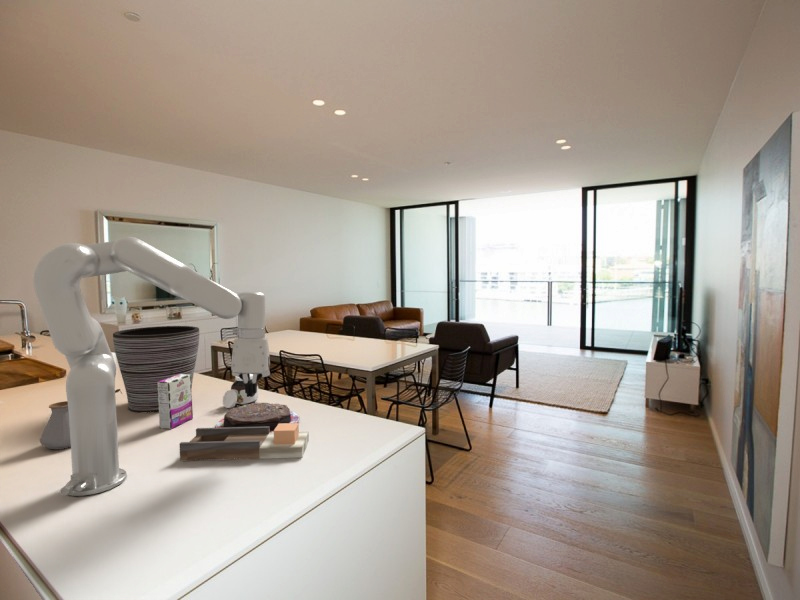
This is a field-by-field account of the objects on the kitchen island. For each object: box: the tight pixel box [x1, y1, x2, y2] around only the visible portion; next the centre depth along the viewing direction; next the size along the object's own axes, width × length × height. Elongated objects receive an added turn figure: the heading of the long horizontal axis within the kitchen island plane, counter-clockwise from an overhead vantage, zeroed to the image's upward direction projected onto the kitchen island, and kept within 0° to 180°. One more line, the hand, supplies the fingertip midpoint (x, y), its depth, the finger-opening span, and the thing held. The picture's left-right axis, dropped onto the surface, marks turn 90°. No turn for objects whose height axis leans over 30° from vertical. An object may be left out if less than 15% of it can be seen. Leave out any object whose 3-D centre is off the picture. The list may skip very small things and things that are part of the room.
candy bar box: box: [157, 374, 194, 430], centre depth 149 cm, size 11×5×16 cm, turn 168°
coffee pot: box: [39, 388, 123, 450], centre depth 134 cm, size 21×12×15 cm, turn 129°
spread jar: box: [222, 374, 259, 409], centre depth 170 cm, size 12×11×12 cm
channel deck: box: [179, 426, 310, 462], centre depth 126 cm, size 12×34×5 cm, turn 93°
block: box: [274, 422, 300, 444], centre depth 127 cm, size 6×6×4 cm
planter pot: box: [112, 325, 200, 413], centre depth 172 cm, size 30×30×30 cm
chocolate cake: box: [214, 402, 300, 433], centre depth 149 cm, size 28×28×7 cm
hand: (251, 395), depth 125 cm, fingers closed
